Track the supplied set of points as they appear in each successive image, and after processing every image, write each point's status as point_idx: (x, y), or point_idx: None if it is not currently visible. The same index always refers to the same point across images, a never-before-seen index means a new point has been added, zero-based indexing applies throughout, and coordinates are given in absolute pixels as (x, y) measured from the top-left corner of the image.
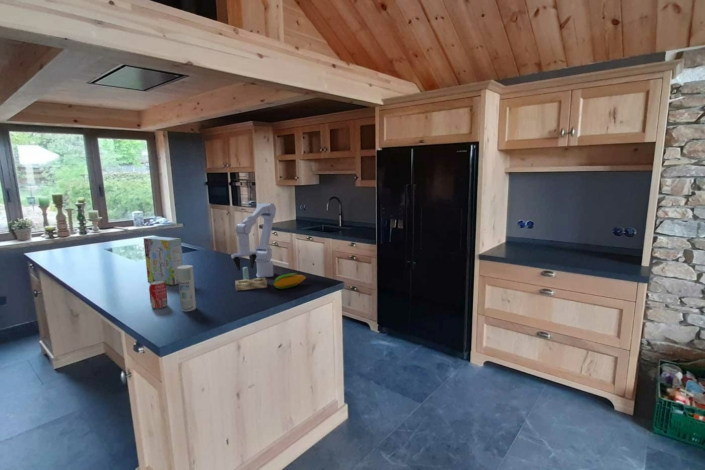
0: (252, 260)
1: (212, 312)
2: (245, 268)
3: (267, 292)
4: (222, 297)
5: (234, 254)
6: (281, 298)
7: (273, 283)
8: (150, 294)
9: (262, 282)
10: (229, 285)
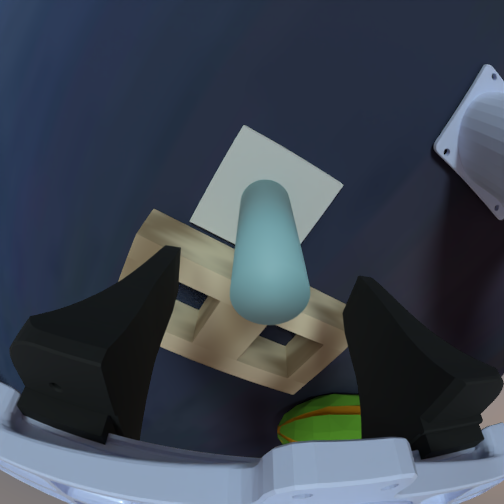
0: (362, 411)
1: (13, 379)
2: (249, 317)
3: (238, 401)
4: (40, 311)
5: (24, 477)
6: (230, 448)
7: (281, 430)
8: None
9: (269, 383)
10: (136, 134)
